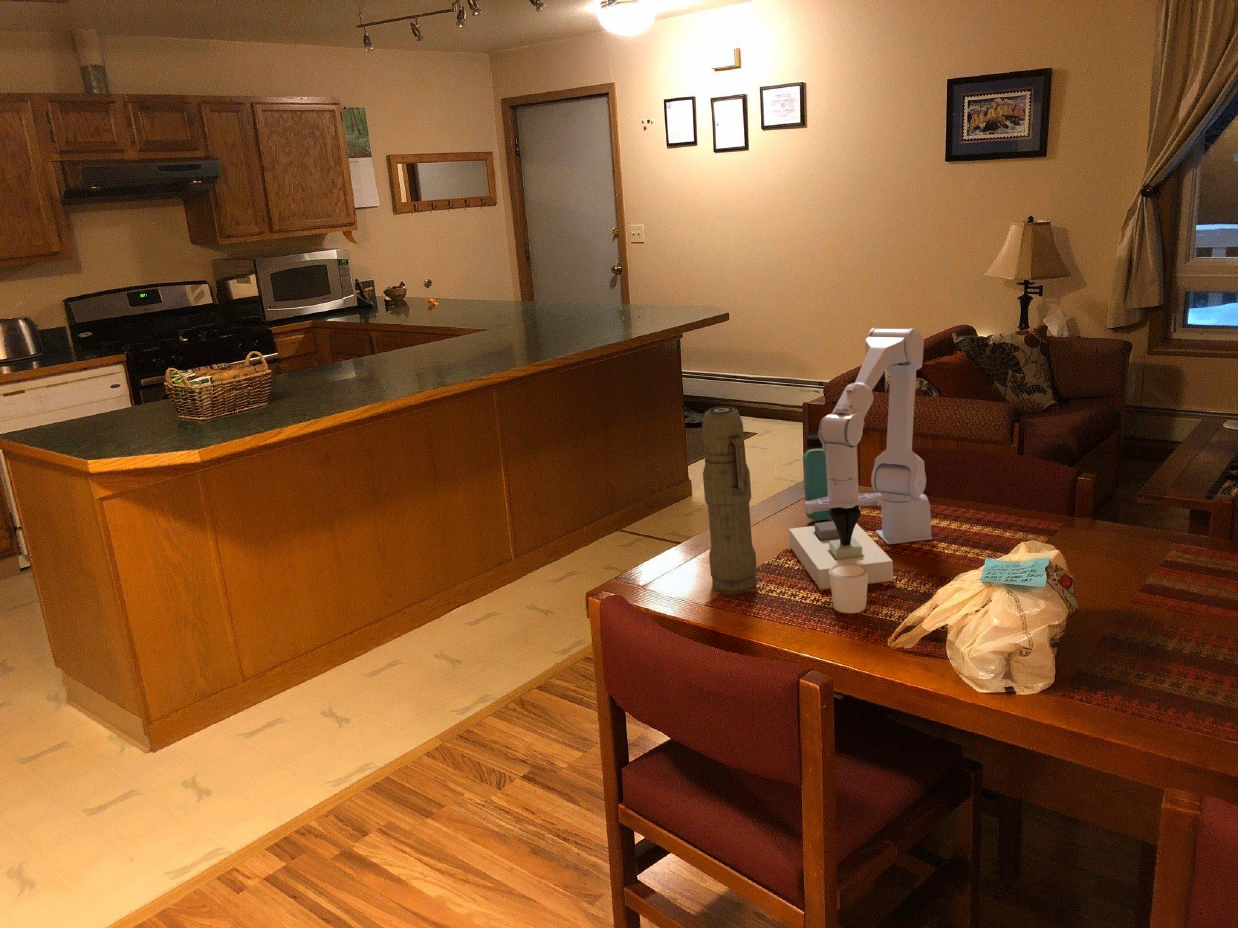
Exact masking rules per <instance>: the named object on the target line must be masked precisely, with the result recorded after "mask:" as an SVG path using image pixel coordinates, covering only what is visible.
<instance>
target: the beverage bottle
mask: <svg viewBox="0 0 1238 928" xmlns="http://www.w3.org/2000/svg"><path fill="white" fill-rule="evenodd" d="M805 444H806V447H807V448H811V449H809V450H807V451H806V452H805V453H804V454H803V455H802V463H803V464H802V467H803V482H804V483H803V486H804V487H803V490H804V494H803V495H804V502H805V501H812V500H816V499H820V498H824V497H828V486H827V466H826V453H824V451H823V446H822V443H821V441H820V439H819V435H818V434H810V435H807V437H806V443H805ZM804 511H805V510H804ZM805 515H806V517H807V518H808V519H809V520H812V521H813V520H814V521H823V520H824V521H825V520H830V519H832V517H831V515H830V514H829V512H828V511H819V512H813V513H812V514H807V513H806V511H805Z"/></svg>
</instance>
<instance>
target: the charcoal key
mask: <svg viewBox="0 0 1238 928" xmlns="http://www.w3.org/2000/svg"><path fill="white" fill-rule="evenodd" d="M814 526H815V536H816V537H817V538H818V539H819V541H827V540H835V539H840V538H839V534H838V531H837V528H836V526H835V523H834V521H833V520H831V521H822V522H815V523H814Z"/></svg>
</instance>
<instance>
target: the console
mask: <svg viewBox="0 0 1238 928" xmlns="http://www.w3.org/2000/svg"><path fill="white" fill-rule="evenodd" d="M788 533H789V535H788V536H789V547H790V548H791V550H792V552H793V553H794V554H795V556H796V558H797V559H798V560H799V562H800V563H801V564H802V566H803V567H804V569H805V570H806V572H807V573H808V575H809V576H810V578H812V579H811V580H813V582H814V581H815V582H814V583H815V585H816V584H817V585H816V586H817V587H818V589H819V590H828V589H831V584H830V577H829V569H830V568H831V567H834V566H836V565H841V564H858V565H861V566H864V567H866V568H867V569H868V583H867V585H868V584H876V583H877V584H878V583H884V582H886V583H887V582H893V581H894V566H893V565H894V563H893V562H894V561H893V559H892V558H890V556H889V555H888V554H887V553H886V552H885V551H884V550H883V549H882V548H881V547H880V546H879V544H877V543H876V541H874V539H872V538H871V536H869V534H868V533H867V532H866V531H865V530H864V529H863V528H862V527H861V526H860V525H859V524H858V523H856V525H855V527H854V530H853V533H852V537H851V538H855V539H856V540H857V541H858V543H859V544H860V545H861V546H862V557H859V558H851V559H842V560H835V559H834V558H833V557H832V556H831V554H830V550H829V541H832V540H827V541H819V539H818V538H817V537H816V536H815V525H810V526H802V527H793V528H789V529H788ZM835 540H840V539H835Z"/></svg>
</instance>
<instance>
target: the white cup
mask: <svg viewBox="0 0 1238 928" xmlns="http://www.w3.org/2000/svg"><path fill="white" fill-rule="evenodd" d="M829 577H830V584H831V588H830V590H831V595H832V602H833V603H832V604H833V608H834V610H836V611H837V612H839V613H844V614H856V613H861V612H862V611H864V610H866V608H867V600H868V599H867V597H868V596H867V595H868V584H867V583H868V569H867V568H866V567H864V566H861V565H858V564H841V565H836V566H834V567H831V568H830V569H829Z"/></svg>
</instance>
